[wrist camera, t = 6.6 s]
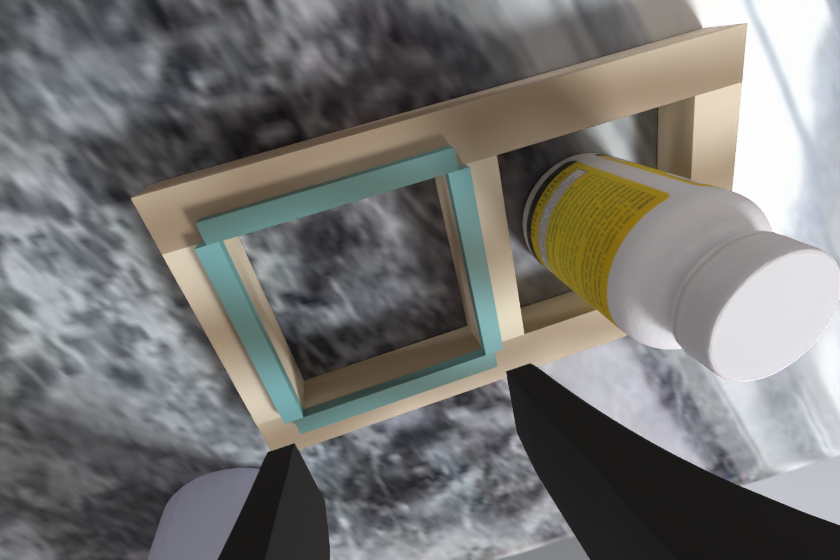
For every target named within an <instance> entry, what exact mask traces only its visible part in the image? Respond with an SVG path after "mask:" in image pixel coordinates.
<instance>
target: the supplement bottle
mask: <svg viewBox="0 0 840 560" xmlns="http://www.w3.org/2000/svg"><path fill="white" fill-rule="evenodd" d="M523 233H524V237H525V241H526V244H527V246H528V248H529V250H530V252H531V253H532V255H533V256H534V257H535V258H536V259H537V260H538V261H539V263H540V264H541V265H543V266H544V267H545V268H546V269H547V270H549V271H550V272H551V273H552V274H554V275H555V276H556V277H557V278H558V279H560V280H561V281H562V282H563V283H564V284H565V285H567V286H568V287H569V288H570V289H572V290H573V291H574V292H575V293H577V294H578V295H579V296H580V297H582V298H583V299H584V300H585V301H586V302H588V303H589V304H590V305H591V306H593V307H594V308H595V309H596V310H597V311H599V312H600V313H601V314H602V315H603V316H604V317H606V318H607V319H608V320H609V321H610V322H612V323H613V324H614V325H615V326H617V327H618V328H619V329H621V330H622V331H623V332H624V333H626V334H627V335H629V336H630V337H632V338H633V339H635V340H636V341H638V342H640V343H642V344H645V345H647V346H650V347H654V348H659V349H684V351H685V352H686V353H687V354H688V355H690V356H691V357H692V358H694V359H696V360H697V361H699V362H700V363H701V364H703V365H704V366H705V367H707V368H708V369H710V370H711V371H712V372H714V373H715V374H716V375H718V376H720V377H721V378H724V379H726V380H730V381H735V382H749V381H754V380H759V379H762V378H765V377H768V376H771V375H773V374H775V373H777V372H779V371H781V370H782V369H784V368H785V367H787V366H789V365H790V364H792V363H793V362H794V361H796V360H797V359H798V358H799V357H801V356H802V355H803V354H804V353H805V352H806V351H807V350H808V349H809V348H810V347H811V346H812V345H813V344H814V343H815V342H816V341H817V340H818V338H819V337H820V336H821V334H822V333H823V332H824V330H825V329H826V327H827V326H828V324H829V322H830V320H831V319H832V317H833V315H834V313H835V310H836V308H837V306H838V302H839V299H840V269H839V267H838V265H837V263H836V261H835V260H834V259H833V258H832V257H831V256H830V255H829V254H828V253H826V252H825V251H823V250H821V249H819V248H816V247H813V246H811V245H808V244H805V243H802V242H800V241H797V240H794V239H792V238H789V237H786V236H783V235H779V234H776V233H774V232H772V229H771V226H770V224H769V222H768V220H767V218H766V216H765V215H764V213H763V212H762V211H761V209H760V208H759V207H758V206H757V205H756V204H755V203H753V202H752V201H751V200H749V199H748V198H746V197H744V196H742V195H740V194H737V193H735V192H732V191H729V190H726V189H723V188H720V187H716V186H712V185H709V184H705V183H702V182H698V181H695V180H691V179H688V178H685V177H681V176H677V175H674V174H671V173H667V172H664V171H660V170H657V169H654V168H650V167H647V166H643V165H641V164H636V163H633V162H630V161H627V160H623V159H619V158H616V157H612V156H609V155H604V154H598V153H583V154H578V155H574V156H571V157H569V158H566V159H564V160H562V161H560V162H559V163H557V164H556V165H554V166H553V167H552V168H550V169H549V170H548V171H547V172H546V173H545V174H544V175H543V176H542V177H541V178H540V179H539V180H538V182H537V183H536V185H535V186H534V188H533V189H532V191H531V193H530V195H529V197H528V200H527V202H526V205H525V209H524V214H523Z"/></svg>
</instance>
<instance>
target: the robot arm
mask: <svg viewBox="0 0 840 560" xmlns="http://www.w3.org/2000/svg"><path fill="white" fill-rule="evenodd" d="M506 374H507V380H508V385H509V391H510V396H511V402H512V407H513V413H514V418H515V424H516V429H517V434H518V436H519V438H520V440H521V442H522V444H523V446H524V448H525V450H526V453H527V455H528V457H529V459H530V461H531V463H532V465H533V467H534V469H535V471H536V473H537V475H538V476H539V478H540V480H541V481H542V483H543V484H544V486H545V488H546V489H547V491H548V493H549V494H550V496H551V497H552V499H553V501H554V502H555V504H556V505H557V507H558V509H559V510H560V512H561V514H562V515H563V517H564V518H565V520H566V522H567V523H568V525H569V526H570V528H571V530H572V531H573V533H574V534H575V536H576V538H577V539H578V541H579V542H580V544H581V546H582V547H583V549H584V550H585V552H586V554H587V555H588V557H589V559H590V560H840V525H837V524H834V523H832V522H829V521H826V520H823V519H821V518H818V517H815V516H812V515H810V514H807V513H804V512H802V511H799V510H797V509H794V508H792V507H789V506H787V505H785V504H782V503H780V502H777V501H775V500H772V499H770V498H768V497H765V496H763V495H760V494H758V493H755V492H753V491H751V490H748V489H746V488H743V487H741V486H739V485H736V484H734V483H732V482H730V481H727V480H725V479H723V478H721V477H719V476H717V475H715V474H712V473H710V472H708V471H706V470H704V469H702V468H700V467H698V466H696V465H694V464H692V463H690V462H688V461H686V460H684V459H682V458H680V457H678V456H676V455H674V454H672V453H670V452H668V451H666V450H665V449H663V448H661V447H659V446H657V445H655V444H654V443H652V442H650V441H648V440H647V439H645V438H643V437H641V436H640V435H638V434H636V433H634V432H633V431H631V430H629V429H628V428H626V427H624V426H623V425H621V424H619V423H618V422H616V421H614V420H613V419H611V418H610V417H608V416H607V415H605V414H604V413H602V412H600V411H599V410H597V409H596V408H594V407H593V406H591V405H590V404H588V403H587V402H585V401H584V400H582V399H581V398H579V397H578V396H576V395H575V394H573V393H572V392H571V391H569V390H568V389H566V388H565V387H563V386H562V385H561V384H559V383H558V382H556V381H555V380H554V379H552V378H551V377H550V376H548V375H547V374H546V373H544V372H543V371H542V370H540V369H539V368H538V367H536V366H535V365H533V364H531V363H529V364H526V365H523V366H520V367H517V368H514V369H511V370H508V371H506ZM147 560H330V544H329V534H328V525H327V516H326V508H325V500H324V498H323V497H322V495H321V493H320V491H319V489H318V487H317V485H316V483H315V481H314V479H313V477H312V475H311V474H310V472H309V470H308V468H307V466H306V464H305V462H304V460H303V458H302V456H301V454H300V452H299V450H298V449H297V447H296V445H295V443H293V444H290V445H287V446H284V447H281V448H279V449H276V450H273V451H270V452H268V453H267V455H266V457H265V459H264V461H263V463H262V465H261V467H260V469H257V468H232V469H224V470H219V471H216V472H212V473H208V474H206V475H203V476H201V477H199V478H196V479H194V480H192V481H191V482H189V483H188V484H186V485H185V486H183V487H182V488H180V489H179V490H178V491H177V492H176V493H175V494H174V495H173V496H172V497H171V499H170V500H169V501H168V503H167V504H166V506H165V508H164V511H163V514H162V516H161V519H160V522H159V525H158V528H157V531H156V534H155V537H154V540H153V543H152V546H151V549H150V552H149V555H148V558H147Z"/></svg>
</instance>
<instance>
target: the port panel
mask: <svg viewBox="0 0 840 560" xmlns="http://www.w3.org/2000/svg"><path fill="white" fill-rule="evenodd" d="M746 31H747V23H745V24H736V25H727V26H718V27H709V28H702V29H699V30H695V31H692V32H688V33H685V34H681V35H678V36H674V37H670V38H667V39H663V40H660V41H656V42H653V43H649V44H646V45H642V46H639V47H635V48H631V49H628V50H624V51H621V52H617V53H614V54H610V55H607V56H603V57H600V58H596V59H592V60H589V61H585V62H582V63H578V64H575V65H571V66H568V67H564V68H561V69H557V70H553V71H550V72H546V73H543V74H539V75H536V76H532V77H529V78H525V79H522V80H518V81H514V82H511V83H507V84H504V85H500V86H497V87H493V88H490V89H486V90H483V91H479V92H476V93H472V94H468V95H465V96H461V97H458V98H454V99H451V100H447V101H444V102H440V103H437V104H433V105H429V106H426V107H422V108H419V109H415V110H412V111H408V112H405V113H401V114H398V115H394V116H390V117H387V118H383V119H380V120H376V121H373V122H369V123H366V124H362V125H359V126H355V127H351V128H348V129H344V130H341V131H337V132H334V133H330V134H327V135H323V136H320V137H316V138H312V139H309V140H305V141H302V142H298V143H295V144H291V145H288V146H284V147H281V148H277V149H273V150H270V151H266V152H263V153H259V154H256V155H252V156H249V157H245V158H242V159H238V160H235V161H231V162H227V163H224V164H220V165H217V166H213V167H210V168H206V169H203V170H199V171H196V172H192V173H188V174H185V175H181V176H178V177H174V178H171V179H167V180H164V181H160V182H157V183H153V184H150V185H149V186H147V187H146V188H144V189H143V190H142V191H140V192H139V193H137V194H136V195H135V196H133V197H132V198H131V200H132V202H133V203H134V205H135V207H136V209H137V211H138V212H139V214H140V216H141V218H142V220H143V221H144V223H145V225H146V227H147V229H148V230H149V232H150V234H151V236H152V238H153V239H154V241H155V243H156V245H157V247H158V248H159V250H160V252H161V254H162V256H163V257H164V259H165V261H166V263H167V265H168V266H169V268H170V270H171V272H172V274H173V275H174V277H175V279H176V281H177V283H178V284H179V286H180V288H181V290H182V292H183V293H184V295H185V297H186V299H187V301H188V302H189V304H190V306H191V308H192V310H193V311H194V313H195V315H196V317H197V319H198V320H199V322H200V324H201V326H202V328H203V329H204V331H205V333H206V335H207V337H208V338H209V340H210V342H211V344H212V346H213V347H214V349H215V351H216V353H217V355H218V356H219V358H220V360H221V362H222V364H223V365H224V367H225V369H226V371H227V373H228V374H229V376H230V378H231V380H232V382H233V383H234V385H235V387H236V389H237V391H238V392H239V394H240V396H241V398H242V400H243V401H244V403H245V405H246V407H247V409H248V410H249V412H250V414H251V416H252V418H253V419H254V421H255V423H256V425H257V427H258V428H259V430H260V432H261V434H262V436H263V437H264V439H265V441H266V443H267V445H268V446H269V448H270V450H271V451H273V450H276V449H279V448H281V447H284V446H287V445H290V444H293V443H295V445H296V447H297V449H298V450H300V449H302V448H305V447H308V446H311V445H314V444H317V443H320V442H322V441H325V440H328V439H331V438H334V437H337V436H340V435H343V434H345V433H348V432H351V431H354V430H357V429H360V428H363V427H366V426H368V425H371V424H374V423H377V422H380V421H383V420H386V419H389V418H391V417H394V416H397V415H400V414H403V413H406V412H409V411H411V410H414V409H417V408H420V407H423V406H426V405H429V404H432V403H434V402H437V401H440V400H443V399H446V398H449V397H452V396H455V395H457V394H460V393H463V392H466V391H469V390H472V389H475V388H477V387H480V386H483V385H486V384H489V383H492V382H495V381H498V380H500V379H503V378H506V377H507V374H506V371H508V370H511V369H514V368H517V367H520V366H523V365H526V364H529V363H531V364H533V365H535V366H536V367H538V366H541V365H544V364H546V363H549V362H552V361H555V360H558V359H561V358H564V357H566V356H569V355H572V354H575V353H578V352H581V351H584V350H587V349H589V348H592V347H595V346H598V345H601V344H604V343H607V342H610V341H612V340H615V339H618V338H621V337H624V336H627V334H626V333H624V332H623V331H622V330H621V329H619V328H618V327H617V326H615V325H614V324H613V323H612V322H610V321H609V320H608V319H607V318H606V317H604V316H603V315H602V314H601V313H600V312H599V311H597V310H596V309H595V308H594V307H593V306H591V305H590V304H589V303H588V302H586V301H585V300H584V299H583V298H582V297H580V296H579V295H578V294H577V293H575V292H574V291H570V292H567V293H564V294H561V295H558V296H555V297H552V298H549V299H546V300H543V301H540V302H537V303H534V304H531V305H528V306H525V307H523V308H520V302H519V296H518V289H517V283H516V276H515V270H514V263H513V257H512V251H511V244H510V238H509V231H508V225H507V218H506V212H505V205H504V199H503V192H502V186H501V179H500V173H499V166H498V160H497V155H499V154H502V153H506V152H509V151H512V150H516V149H519V148H522V147H526V146H529V145H532V144H536V143H539V142H542V141H546V140H549V139H553V138H556V137H559V136H563V135H566V134H569V133H573V132H576V131H579V130H583V129H586V128H590V127H593V126H596V125H600V124H603V123H606V122H610V121H613V120H616V119H620V118H623V117H626V116H630V115H633V114H637V113H640V112H643V111H647V110H650V109H653V108H657V107H658V170H660V171H664V172H667V173H671V174H674V175H677V176H681V177H685V178H688V179H691V180H695V181H698V182H702V183H705V184H709V185H712V186H716V187H720V188H723V189H726V190H729V191H732V185H733V174H734V163H735V152H736V141H737V130H738V119H739V108H740V97H741V86H742V75H743V64H744V53H745V42H746ZM432 178H435V182H436V187H437V191H438V196H439V200H440V205H441V209H442V213H443V218H444V222H445V227H446V231H447V236H448V240H449V245H450V249H451V254H452V258H453V263H454V267H455V272H456V276H457V281H458V285H459V290H460V294H461V298H462V303H463V307H464V312H465V316H466V321H467V325H468V326H466V327H463V328H460V329H457V330H454V331H451V332H448V333H445V334H442V335H439V336H436V337H433V338H430V339H427V340H424V341H421V342H418V343H415V344H412V345H409V346H406V347H403V348H400V349H397V350H394V351H391V352H388V353H385V354H382V355H379V356H376V357H373V358H370V359H367V360H364V361H361V362H358V363H355V364H352V365H349V366H346V367H343V368H340V369H337V370H334V371H331V372H328V373H325V374H322V375H319V376H316V377H313V378H310V379H307V380H304V379H303V377H302V375H301V373H300V370H299V368H298V366H297V364H296V362H295V360H294V357H293V355H292V353H291V351H290V349H289V346H288V344H287V342H286V340H285V338H284V336H283V333H282V331H281V329H280V327H279V325H278V322H277V320H276V318H275V316H274V314H273V312H272V309H271V307H270V305H269V303H268V301H267V299H266V296H265V294H264V292H263V290H262V288H261V285H260V283H259V281H258V279H257V277H256V275H255V272H254V270H253V268H252V266H251V264H250V261H249V259H248V257H247V255H246V253H245V251H244V248H243V246H242V244H241V242H240V240H239V237H238V236H241V235H244V234H247V233H251V232H254V231H257V230H261V229H264V228H267V227H271V226H274V225H277V224H281V223H284V222H287V221H291V220H294V219H298V218H301V217H304V216H308V215H311V214H314V213H318V212H321V211H324V210H328V209H331V208H334V207H338V206H341V205H344V204H348V203H351V202H354V201H358V200H361V199H365V198H368V197H371V196H375V195H378V194H381V193H385V192H388V191H391V190H395V189H398V188H401V187H405V186H408V185H411V184H415V183H418V182H421V181H425V180H428V179H432Z"/></svg>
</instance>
